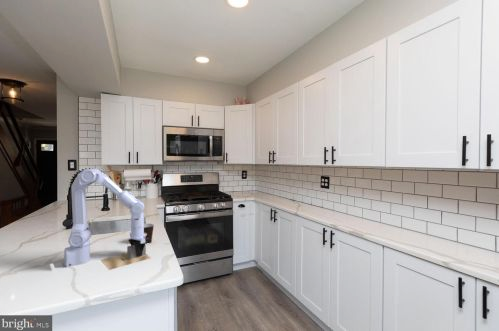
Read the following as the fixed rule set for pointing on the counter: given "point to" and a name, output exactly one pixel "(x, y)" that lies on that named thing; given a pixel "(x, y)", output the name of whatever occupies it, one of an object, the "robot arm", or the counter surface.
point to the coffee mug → (148, 232)
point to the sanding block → (134, 252)
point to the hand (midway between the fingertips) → (137, 254)
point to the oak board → (121, 261)
